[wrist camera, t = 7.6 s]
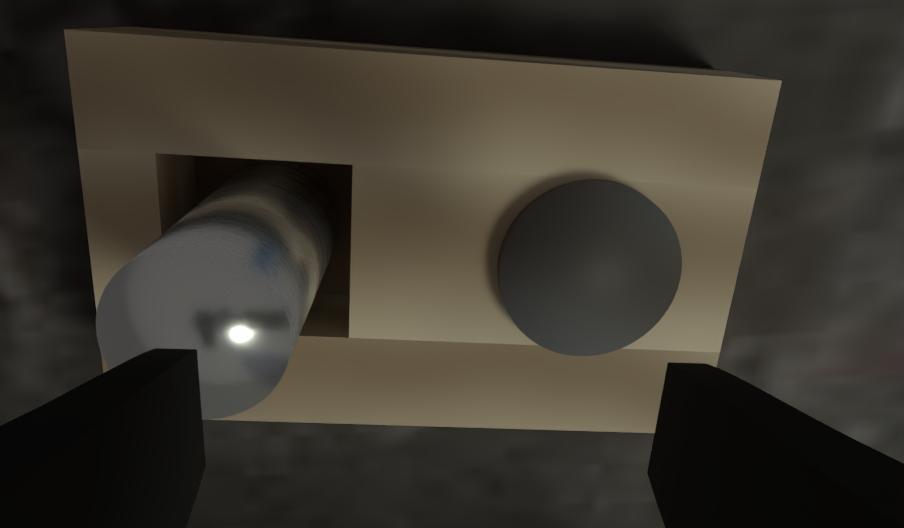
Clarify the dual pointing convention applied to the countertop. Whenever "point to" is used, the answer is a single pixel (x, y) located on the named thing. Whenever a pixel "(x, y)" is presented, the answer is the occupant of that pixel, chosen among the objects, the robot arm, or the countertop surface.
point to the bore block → (447, 213)
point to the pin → (228, 283)
